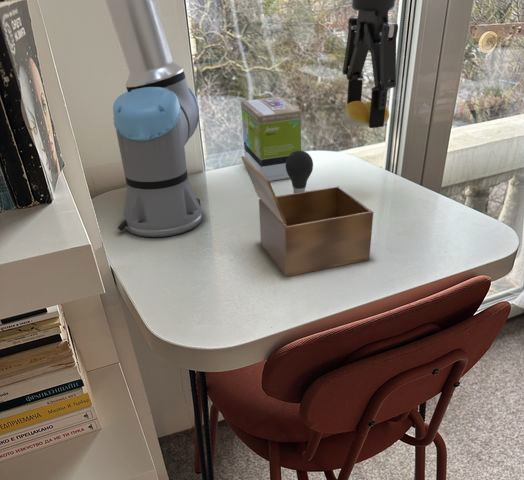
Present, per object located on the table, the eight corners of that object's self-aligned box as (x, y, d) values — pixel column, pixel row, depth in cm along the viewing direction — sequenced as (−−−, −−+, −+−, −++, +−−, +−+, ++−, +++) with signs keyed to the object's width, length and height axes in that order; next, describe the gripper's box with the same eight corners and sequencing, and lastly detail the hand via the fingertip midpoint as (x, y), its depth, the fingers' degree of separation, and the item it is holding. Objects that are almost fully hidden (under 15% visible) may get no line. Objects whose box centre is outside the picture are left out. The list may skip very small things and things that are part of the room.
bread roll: (393, 126, 105) (396, 104, 103) (347, 129, 105) (349, 106, 102) (381, 115, 112) (383, 94, 109) (338, 118, 111) (339, 96, 109)
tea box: (243, 163, 137) (239, 99, 128) (281, 158, 139) (280, 95, 130) (261, 183, 125) (258, 114, 116) (302, 177, 127) (303, 109, 118)
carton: (286, 276, 89) (285, 227, 84) (260, 244, 99) (258, 198, 94) (369, 260, 93) (373, 211, 88) (336, 230, 103) (338, 185, 98)
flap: (286, 222, 84) (284, 224, 84) (259, 194, 94) (257, 195, 94) (269, 180, 79) (267, 181, 79) (243, 155, 89) (240, 156, 89)
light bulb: (297, 206, 113) (297, 157, 107) (280, 198, 117) (279, 150, 111) (318, 199, 116) (319, 151, 110) (301, 192, 119) (301, 145, 113)
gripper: (429, -16, 87) (410, 132, 101) (364, -21, 104) (355, 107, 117) (388, -14, 85) (374, 137, 99) (328, -19, 102) (323, 111, 115)
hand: (364, 121), depth 108 cm, fingers closed on bread roll, 9 cm apart
